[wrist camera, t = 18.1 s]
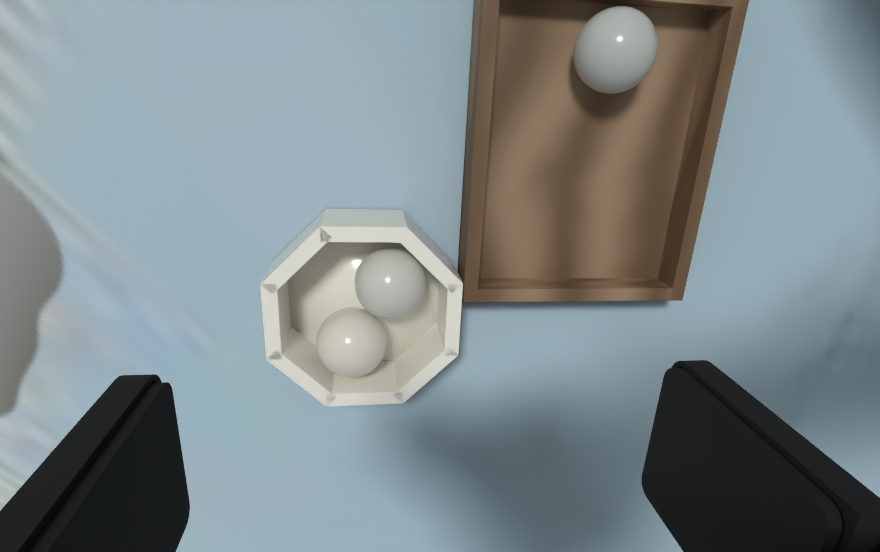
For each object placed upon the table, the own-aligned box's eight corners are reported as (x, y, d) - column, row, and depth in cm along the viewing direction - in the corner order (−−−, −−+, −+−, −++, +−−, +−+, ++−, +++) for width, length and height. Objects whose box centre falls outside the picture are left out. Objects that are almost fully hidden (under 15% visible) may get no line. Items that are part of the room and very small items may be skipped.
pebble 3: (639, 14, 34) (683, 2, 29) (626, 95, 35) (665, 96, 31) (567, 9, 33) (599, -4, 28) (557, 91, 35) (586, 92, 30)
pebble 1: (386, 320, 34) (354, 391, 33) (406, 326, 39) (378, 388, 38) (323, 291, 35) (291, 359, 35) (350, 301, 40) (322, 360, 39)
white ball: (392, 235, 38) (443, 249, 35) (391, 298, 40) (439, 317, 37) (338, 247, 34) (390, 264, 31) (339, 315, 36) (389, 338, 33)
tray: (720, -2, 35) (751, -11, 32) (661, 286, 42) (682, 300, 39) (475, -22, 32) (485, -33, 30) (456, 287, 40) (463, 302, 37)
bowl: (454, 210, 37) (466, 228, 33) (445, 366, 42) (455, 401, 37) (270, 207, 36) (255, 225, 31) (281, 371, 40) (270, 408, 35)
